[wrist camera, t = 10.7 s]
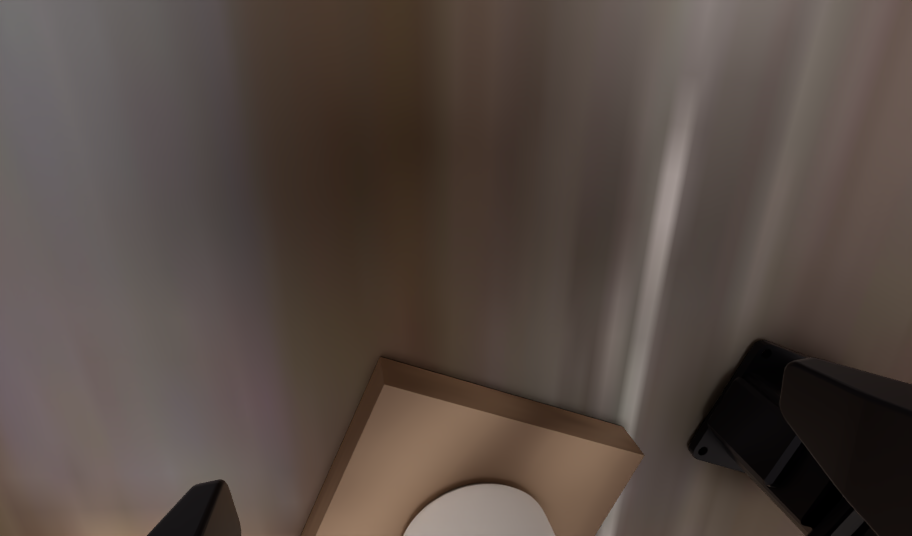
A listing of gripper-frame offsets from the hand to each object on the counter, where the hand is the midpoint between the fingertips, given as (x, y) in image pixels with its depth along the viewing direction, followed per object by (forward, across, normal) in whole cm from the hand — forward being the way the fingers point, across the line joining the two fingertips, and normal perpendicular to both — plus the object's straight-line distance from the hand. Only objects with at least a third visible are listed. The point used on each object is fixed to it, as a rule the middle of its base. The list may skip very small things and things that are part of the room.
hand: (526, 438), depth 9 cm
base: (+13, 0, +14) cm, 19 cm away
